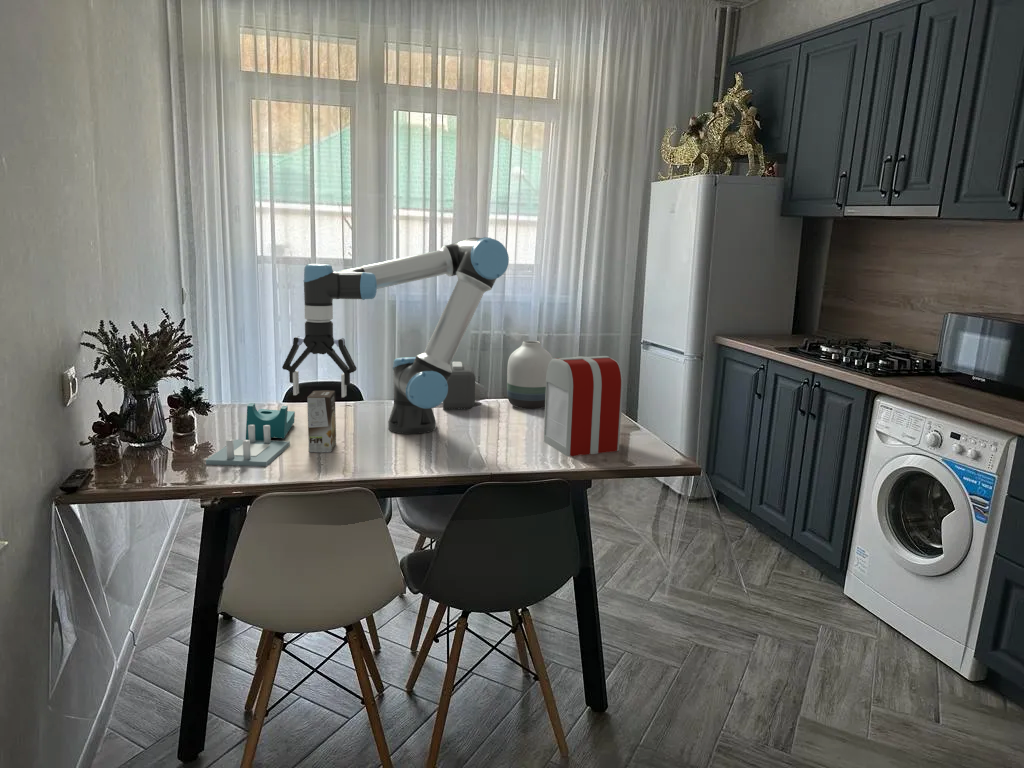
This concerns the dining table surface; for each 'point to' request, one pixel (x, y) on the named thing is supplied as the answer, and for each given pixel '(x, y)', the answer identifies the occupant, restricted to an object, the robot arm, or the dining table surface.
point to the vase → (528, 375)
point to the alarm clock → (460, 387)
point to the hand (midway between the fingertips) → (320, 395)
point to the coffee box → (321, 421)
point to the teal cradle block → (269, 421)
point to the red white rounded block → (583, 405)
